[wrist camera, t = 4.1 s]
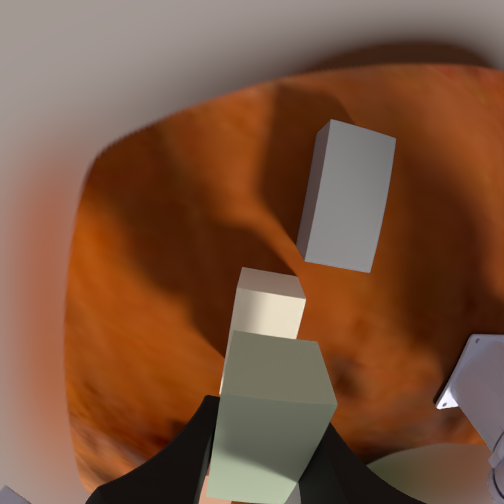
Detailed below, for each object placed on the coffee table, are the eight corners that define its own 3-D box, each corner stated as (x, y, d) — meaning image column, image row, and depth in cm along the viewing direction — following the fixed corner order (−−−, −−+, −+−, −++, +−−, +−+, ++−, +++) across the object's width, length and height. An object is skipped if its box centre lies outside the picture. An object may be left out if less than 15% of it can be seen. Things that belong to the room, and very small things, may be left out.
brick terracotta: (241, 447, 22) (238, 480, 18) (231, 481, 24) (228, 510, 20) (203, 441, 22) (196, 473, 18) (199, 476, 23) (193, 504, 20)
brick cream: (297, 275, 18) (306, 299, 14) (275, 366, 20) (276, 402, 16) (242, 266, 18) (236, 287, 14) (226, 359, 20) (219, 393, 16)
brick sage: (317, 341, 11) (337, 404, 8) (280, 446, 13) (283, 504, 9) (233, 330, 11) (221, 392, 8) (216, 438, 13) (205, 496, 9)
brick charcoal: (369, 147, 16) (396, 138, 12) (348, 255, 18) (369, 273, 14) (316, 133, 16) (331, 119, 12) (295, 245, 18) (304, 261, 14)
